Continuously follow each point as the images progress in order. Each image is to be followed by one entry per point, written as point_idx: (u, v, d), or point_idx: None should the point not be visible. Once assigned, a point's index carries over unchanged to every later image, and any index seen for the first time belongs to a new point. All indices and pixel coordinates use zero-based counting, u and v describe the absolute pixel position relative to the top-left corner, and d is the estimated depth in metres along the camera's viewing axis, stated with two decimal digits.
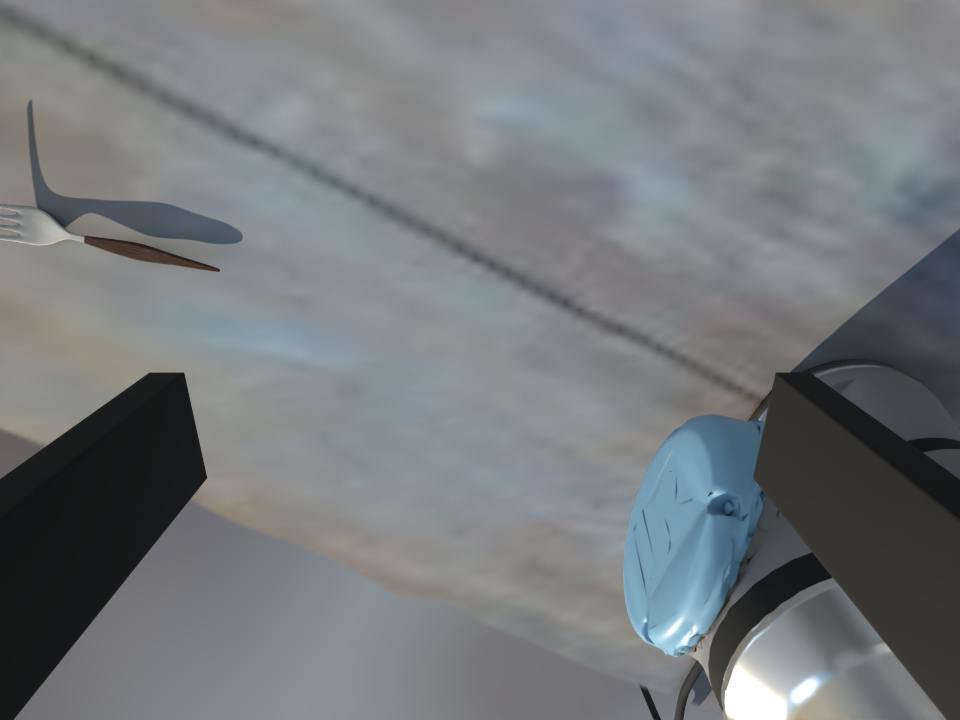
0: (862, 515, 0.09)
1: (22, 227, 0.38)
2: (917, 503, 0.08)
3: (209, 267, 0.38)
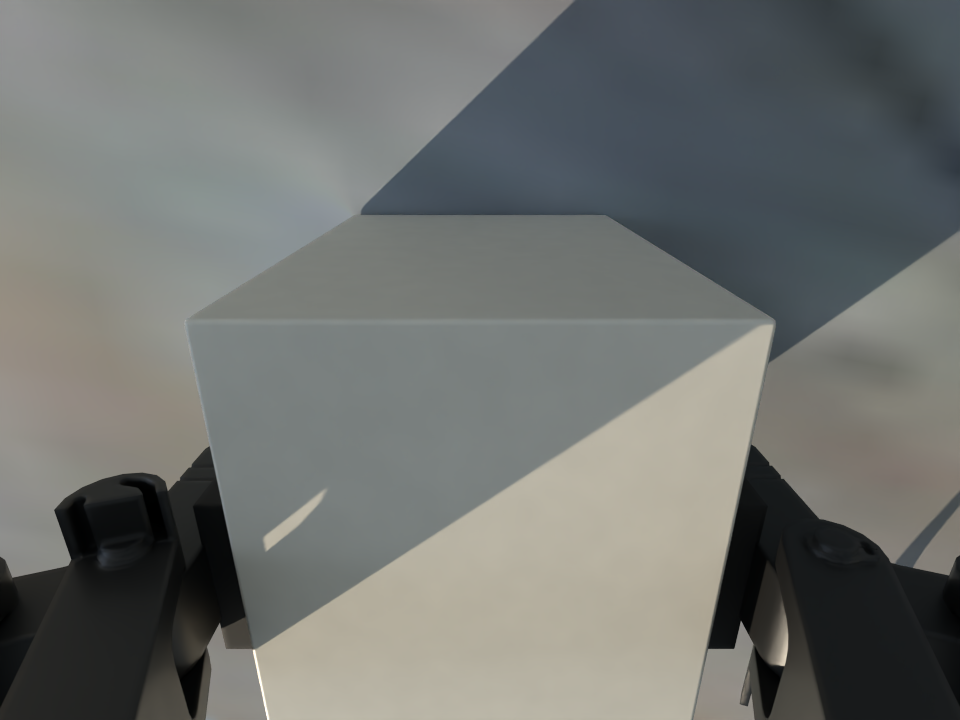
0: None
1: None
2: None
3: None
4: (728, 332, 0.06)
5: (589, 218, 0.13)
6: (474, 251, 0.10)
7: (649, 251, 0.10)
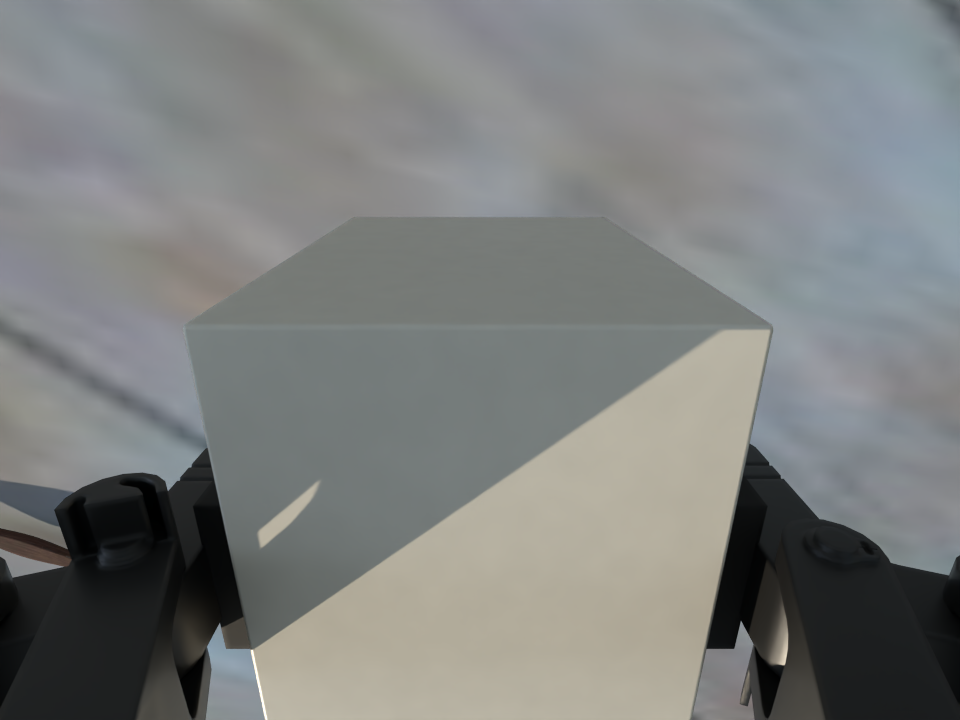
0: None
1: None
2: None
3: None
4: (725, 338, 0.06)
5: (588, 220, 0.13)
6: (473, 254, 0.10)
7: (647, 254, 0.10)
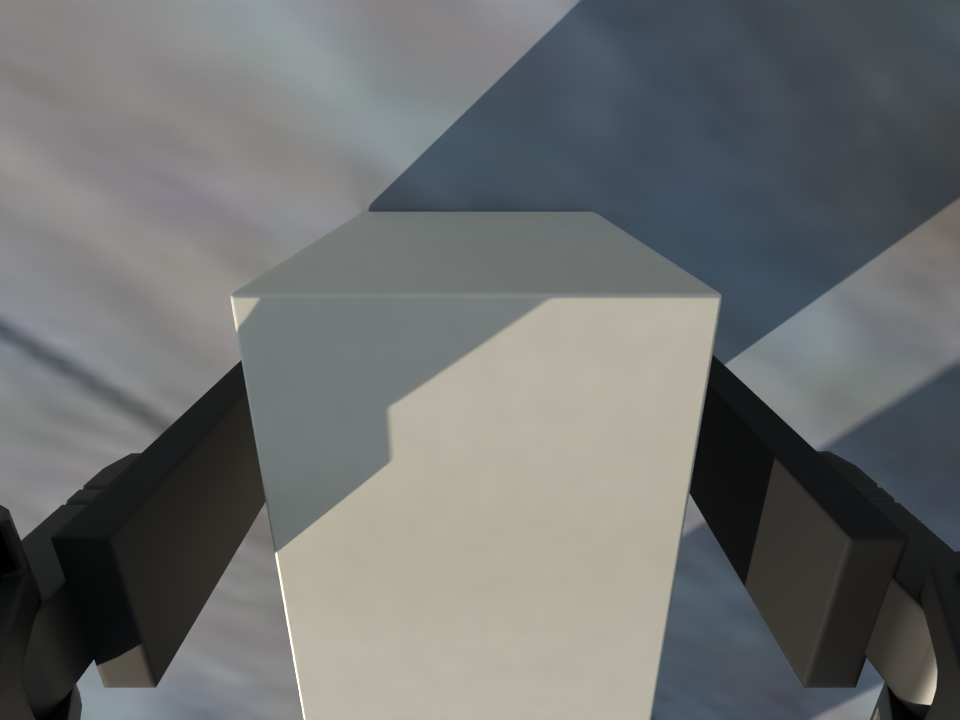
0: (732, 475, 0.10)
1: None
2: (764, 460, 0.09)
3: None
4: (682, 304, 0.07)
5: (578, 214, 0.15)
6: (472, 242, 0.11)
7: (627, 242, 0.11)
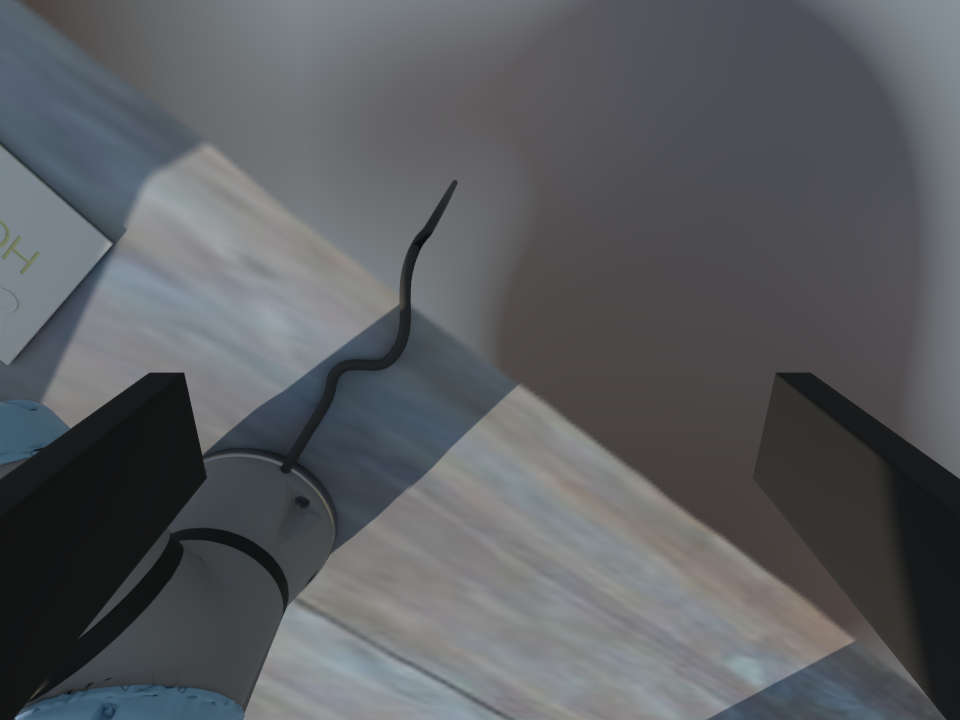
0: (862, 515, 0.09)
1: None
2: (917, 503, 0.08)
3: None
4: None
5: None
6: None
7: None
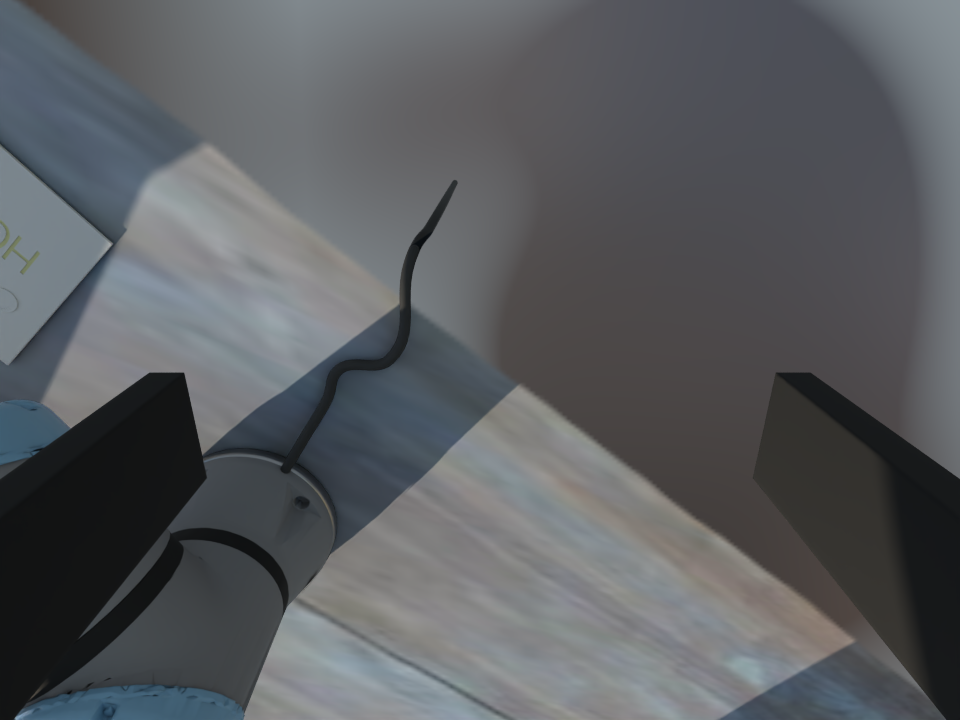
0: (862, 515, 0.09)
1: None
2: (917, 503, 0.08)
3: None
4: None
5: None
6: None
7: None
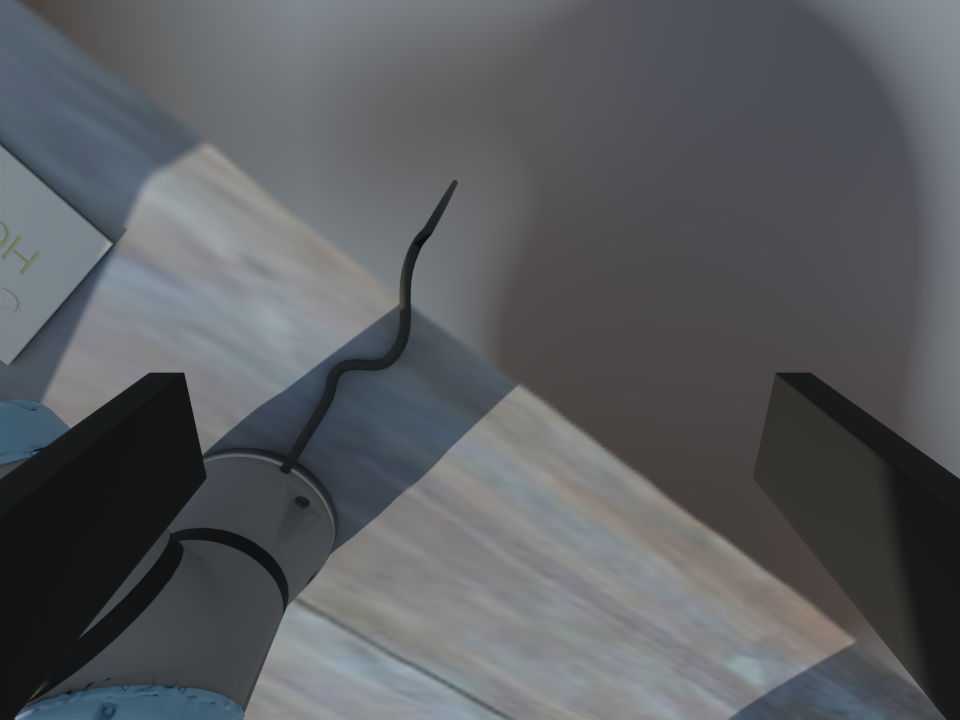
0: (862, 515, 0.09)
1: None
2: (917, 503, 0.08)
3: None
4: None
5: None
6: None
7: None
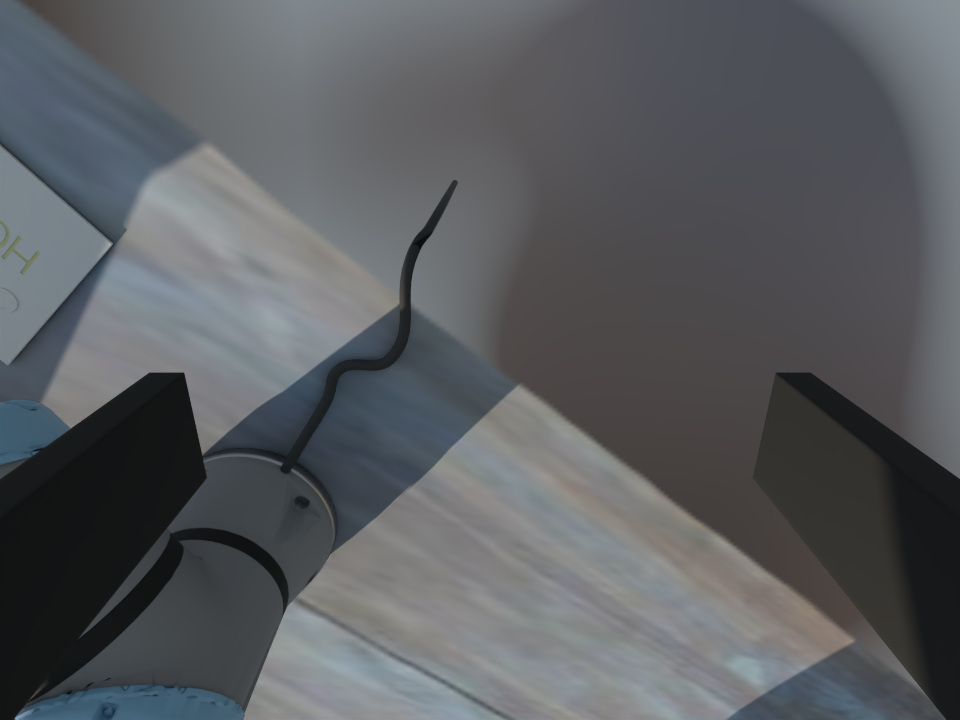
0: (862, 515, 0.09)
1: None
2: (917, 503, 0.08)
3: None
4: None
5: None
6: None
7: None
